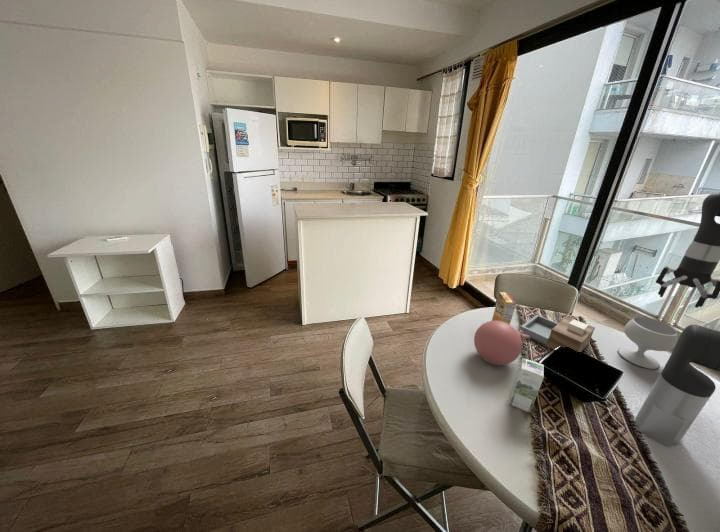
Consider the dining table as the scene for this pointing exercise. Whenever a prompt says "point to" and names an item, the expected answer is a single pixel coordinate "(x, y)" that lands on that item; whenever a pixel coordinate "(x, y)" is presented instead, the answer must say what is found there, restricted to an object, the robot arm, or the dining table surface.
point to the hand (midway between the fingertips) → (678, 301)
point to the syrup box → (526, 384)
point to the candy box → (504, 308)
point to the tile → (577, 327)
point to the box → (538, 329)
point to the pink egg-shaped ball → (499, 342)
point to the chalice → (647, 340)
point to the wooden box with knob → (569, 336)
